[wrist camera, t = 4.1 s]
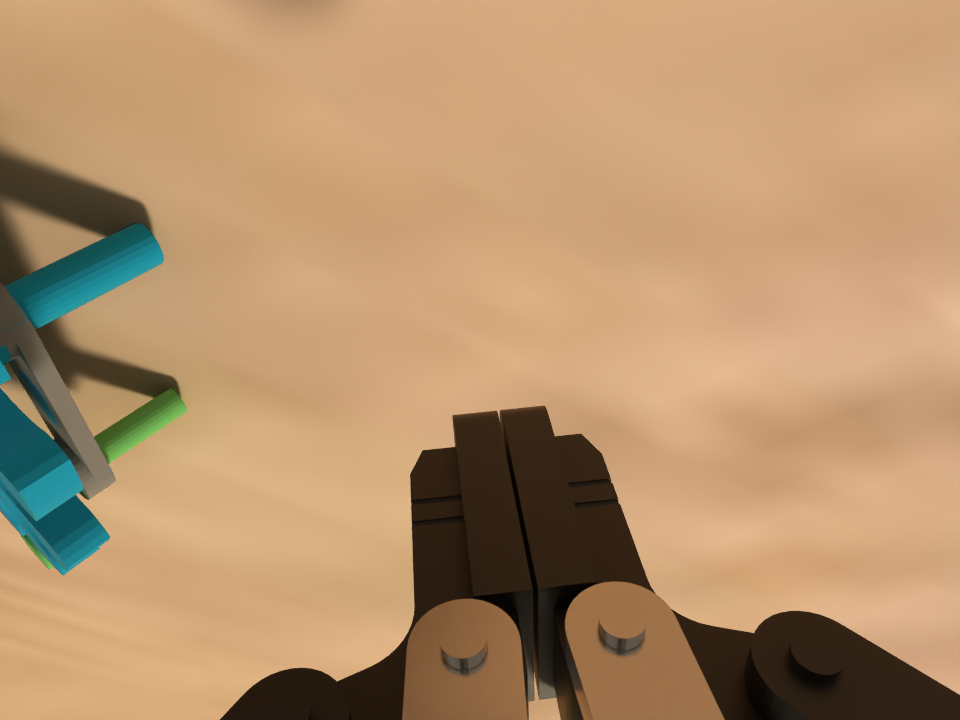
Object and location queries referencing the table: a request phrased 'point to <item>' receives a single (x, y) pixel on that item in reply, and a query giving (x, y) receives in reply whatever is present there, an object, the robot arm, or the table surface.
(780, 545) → the table surface
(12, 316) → the gear
